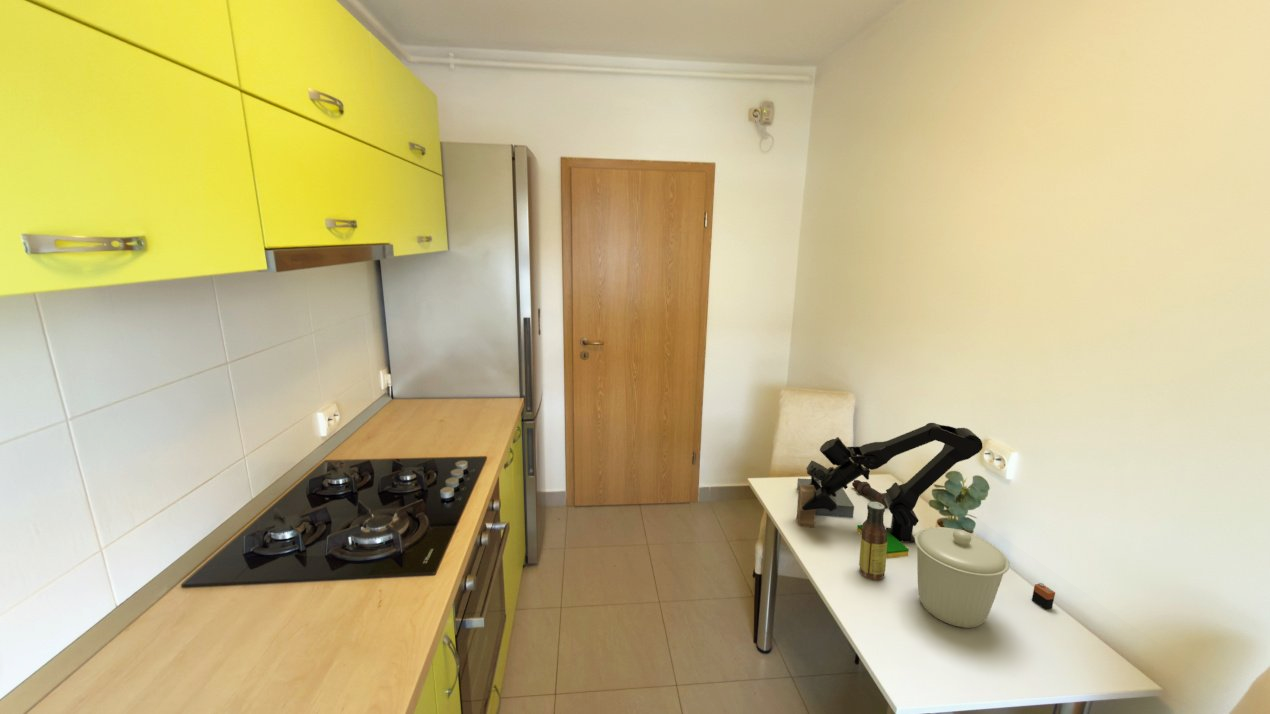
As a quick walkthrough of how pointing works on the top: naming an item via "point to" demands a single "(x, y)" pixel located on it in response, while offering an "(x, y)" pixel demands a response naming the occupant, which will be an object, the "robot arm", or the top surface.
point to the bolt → (869, 492)
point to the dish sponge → (891, 545)
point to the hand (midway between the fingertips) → (802, 503)
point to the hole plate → (842, 501)
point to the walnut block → (804, 495)
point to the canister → (958, 575)
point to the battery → (1043, 596)
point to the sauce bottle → (873, 543)
